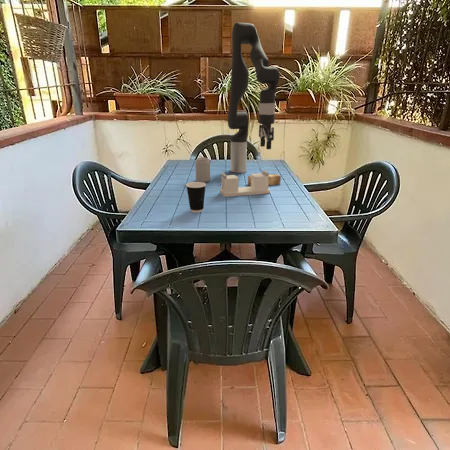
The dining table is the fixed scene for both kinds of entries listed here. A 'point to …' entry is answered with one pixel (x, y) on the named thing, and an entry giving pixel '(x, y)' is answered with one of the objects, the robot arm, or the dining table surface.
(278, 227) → the dining table surface
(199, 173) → the can
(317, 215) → the dining table surface
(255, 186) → the display stand
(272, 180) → the bar
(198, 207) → the dixie cup
